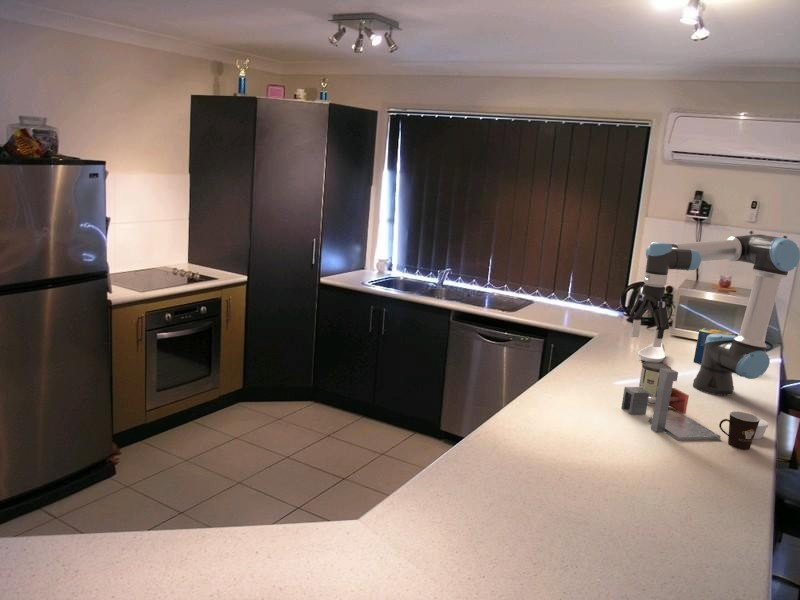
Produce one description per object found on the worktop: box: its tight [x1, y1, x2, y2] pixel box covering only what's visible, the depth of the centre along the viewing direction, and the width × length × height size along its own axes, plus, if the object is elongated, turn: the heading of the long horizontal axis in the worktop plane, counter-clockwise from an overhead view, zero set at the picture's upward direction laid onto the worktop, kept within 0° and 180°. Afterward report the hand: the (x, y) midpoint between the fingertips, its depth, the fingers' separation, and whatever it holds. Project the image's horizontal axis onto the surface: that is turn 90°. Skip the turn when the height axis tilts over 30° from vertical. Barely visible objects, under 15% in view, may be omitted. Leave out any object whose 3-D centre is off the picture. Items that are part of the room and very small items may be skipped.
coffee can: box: [638, 361, 672, 407], centre depth 248 cm, size 10×10×14 cm
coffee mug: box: [718, 410, 761, 451], centre depth 213 cm, size 12×9×10 cm
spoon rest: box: [637, 342, 666, 363], centre depth 311 cm, size 24×12×7 cm, turn 147°
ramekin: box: [753, 417, 769, 440], centre depth 224 cm, size 11×11×5 cm
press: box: [620, 368, 721, 442], centre depth 226 cm, size 20×28×21 cm
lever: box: [648, 387, 690, 415], centre depth 238 cm, size 19×8×7 cm, turn 104°
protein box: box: [692, 327, 739, 365], centre depth 310 cm, size 10×15×16 cm
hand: (645, 341), depth 243 cm, fingers open, 13 cm apart
